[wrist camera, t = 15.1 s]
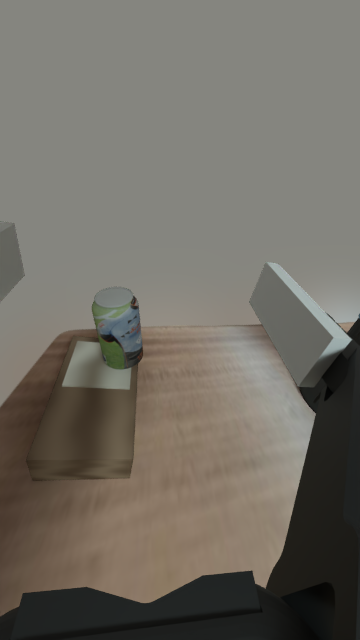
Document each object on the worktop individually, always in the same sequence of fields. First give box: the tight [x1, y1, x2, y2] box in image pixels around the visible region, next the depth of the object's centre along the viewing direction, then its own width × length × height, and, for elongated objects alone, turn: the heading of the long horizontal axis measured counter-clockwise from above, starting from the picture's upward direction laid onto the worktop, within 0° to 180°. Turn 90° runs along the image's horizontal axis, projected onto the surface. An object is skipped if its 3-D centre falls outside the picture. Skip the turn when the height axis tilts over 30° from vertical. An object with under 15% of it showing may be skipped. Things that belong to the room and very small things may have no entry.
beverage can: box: [92, 287, 143, 370], centre depth 35 cm, size 6×7×12 cm
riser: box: [26, 336, 138, 481], centre depth 36 cm, size 11×20×5 cm, turn 6°
